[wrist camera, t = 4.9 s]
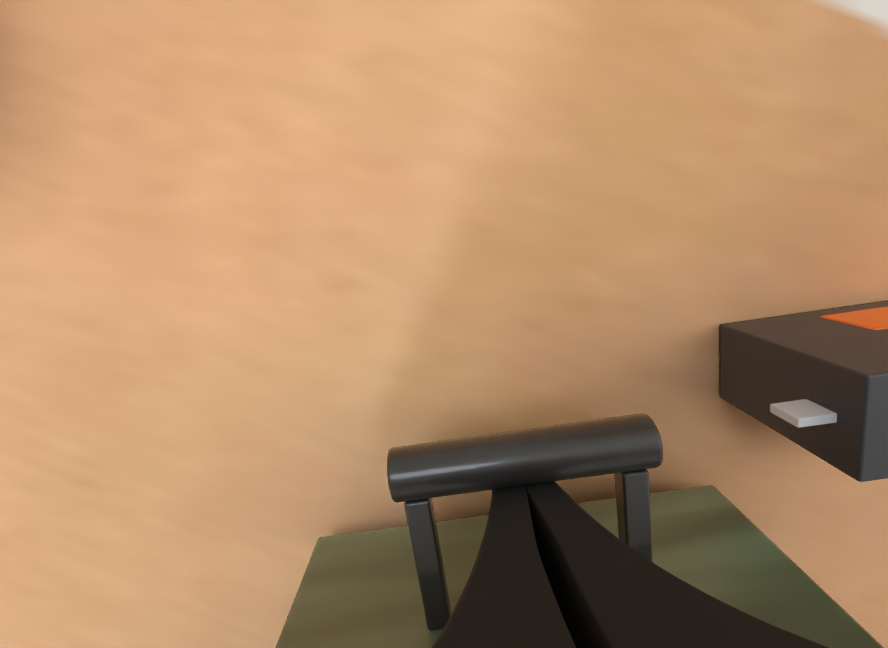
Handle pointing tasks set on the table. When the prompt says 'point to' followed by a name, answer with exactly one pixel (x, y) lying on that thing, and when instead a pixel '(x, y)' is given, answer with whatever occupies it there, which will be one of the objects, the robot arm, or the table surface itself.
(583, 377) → the table surface
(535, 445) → the drawer
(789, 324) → the black block with tab
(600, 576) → the robot arm
